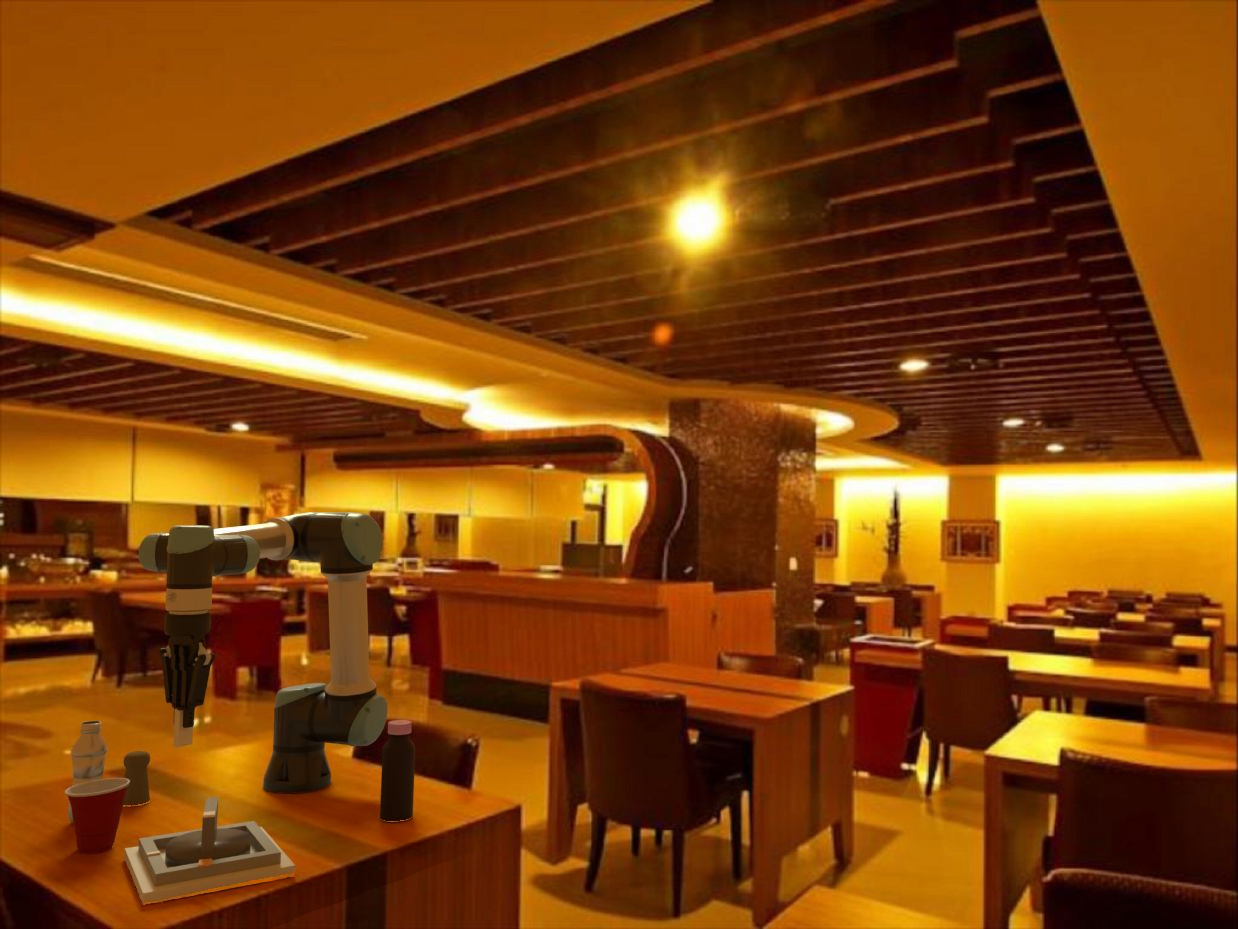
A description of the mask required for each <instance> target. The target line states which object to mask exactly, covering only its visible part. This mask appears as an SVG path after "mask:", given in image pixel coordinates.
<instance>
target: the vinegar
mask: <svg viewBox="0 0 1238 929" xmlns="http://www.w3.org/2000/svg"><path fill="white" fill-rule="evenodd" d="M412 724H413V723H412V721H411V720H408V719H407V720H406V719H395V720H390V721H389V722H387V736H388V740H387V741H386V742H385V743H384V744H383V746H382V753H381V754H382V756H381V778H380V779H381V780H380V803H379V804H380V806H379V808H380V809H379V818H380V819H379V820H381V819H382V820H385V821H400V820H406V819H409V818H411V817H412V818H413V815H414V814H413V813H414V790H415V769H416V768H415V766H416V765H415V764H416V763H415V762H416V761H415V760H416V745H415V743H414V742H413V741H412V740H411V738H410V737H411V735H412ZM412 818H411V819H412ZM382 820H381V821H382ZM385 821H384V822H385Z"/></svg>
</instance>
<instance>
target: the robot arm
mask: <svg viewBox="0 0 1238 929" xmlns="http://www.w3.org/2000/svg"><path fill="white" fill-rule="evenodd" d="M383 542H384V541H383V534H382V531H381V528H380V526H379V524H378V522H377V521H376V520H375V519H374V517H372V516H371V515H369V514H367V513H360V512H354V511H345V512H343V511H342V512H341V511H340V512H339V511H338V512H337V511H329V512H326V511H325V512H324V511H323V512H321V511H309V512H302V513H296V514H290V515H285V516H280V517H272V518H269V519H266V520H265V521H264V522H262V523H258V524H256V523H255V524H248V525H239V526H230V527H220V528H214V527H212V526H211V525H197V524H196V525H182V524H181V525H179V524H178V525H174V526H171V528H170V529H169V531H168V532H158V533H156V532H155V533H151V534H148V535H147V536H145V537H144V538H143V539H142V541H141V542H140V545H139V547H138V560H139V564H140V566H142V567H143V568H144V569H145V570H147V571H150V572H157V573H159V574H161V573H166V593H165V594H166V595H165V610H166V611H167V613H165V614H164V624H163V625H164V626H163V628H164V629H163V630H164V634H165V635H166V636H169V639H168V642H167V643H168V645H167V646H166V647H162V648H159V650H158V654H159V658H160V660H161V665H162V674H163V686H164V693H165V694H164V696H165V702H166V703H167V704H171V707H172V709H173V744H172V745H173V747H175V748H181V747H187V746H191V745H193V740H194V739H193V736H194V735H193V734H194V725H195V711H196V708H197V707H199V706H203V705H204V702H205V698H206V692H207V687H208V682H209V678H210V677H209V676H210V672H211V667H212V665H213V663H214V661H215V657H216V656H215V655H216V654H215V653H214V652H208V651H207V649H206V647H207V644H206V640H205V636H206V635H207V634H209V633H210V631H211V627H212V626H211V624H212V614H211V613H210V612H209V610H211V609H212V608H213V607H212V604H213V602H212V600H213V577H217V576H230V575H236V576H239V575H241V574H245V573H249V572H252V571H253V570H254V569H255V568H256V567H257V566H258V564H259V562H260V559H265V558H267V559H269V560H272V561H281V560H292V561H300V562H309V563H311V562H312V563H319V565H320V574H322V575H323V576H324V577H325V579H326V580H327V589H328V590H327V591H328V592H327V593H328V594H327V596H328V620H329V621H328V626H329V649H330V650H329V652H330V657H329V658H330V682H329V683H328V684H327V683H323V682H313V683H305V684H298V685H293V686H287V687H284V688H282V689H279V690H278V691H277V693H276V696H275V699H274V701H275V702H274V707H273V710H274V711H273V712H274V714H273V715H274V716H273V717H274V718H273V734H272V735H273V739H272V743H273V744H272V754H271V757H270V759H269V762H268V765H267V767H266V770H265V773H264V775H263V782H262V783H263V785H262V787H263V789H264V790H265V791H268V792H271V793H277V794H301V793H310V792H314V791H318V790H322V789H325V788H326V787H328V786H330V785H331V784H332V783H331V782H332V772H331V768H330V763H329V761H328V757H327V754H326V749H325V746H326V745H325V744H326V743H327V744H335V745H343V746H344V745H345V746H350V747H357V746H359V747H367V746H369V745H371V744H373V743H374V742H376V741H377V739H378V738H379V737H380V735H381V734H382V732H383V730H384V728H385V725H386V721H387V718H388V717H387V716H388V711H389V710H388V708H389V707H388V702H387V700H386V698H385V696H383V695H381V694H378V693H377V683H376V682H375V681H374V680H373V679H372V678H371V677H370V656H369V655H370V651H369V648H370V647H369V622H368V621H369V620H368V619H369V618H368V617H369V615H368V589H367V588H368V585H367V582H368V581H367V577H368V576H369V575H370V573H371V572H372V571H373V570H374V565H373V564H376V563H377V562H378V561H379V560H380V558H381V556H382V553H381V552H383V547H384V545H383V544H384V543H383Z"/></svg>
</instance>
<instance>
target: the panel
mask: <svg viewBox="0 0 1238 929" xmlns="http://www.w3.org/2000/svg"><path fill="white" fill-rule="evenodd" d="M221 828H223V829H237V830H242V831H245V832H247V833H249V834H250V836H251V848H250V853H249V854H245V855H240V856H234V857H228V858H222V859H216V860H212V859H201V860H199V863H193V864H187V865H182V866H176V867H171V866H169V865H168V864H166V862H165V853H166V844H167V843H168V842H169V841H170V840H172V839H173V838H175V837H178V836H180V835H183V834H186V833H190V832H194V831H200V830H202V828H199V829H192V830H187V831H179V832H173V833H166V834H161V835H153V836H148V837H147V836H146V837H142V838H141V837H140V838H139V839H138V845H137V846H133V847H132V846H131V847H125V848H124V857H123V860H124V859H125V861H126V863H127V865H128V868H129V870H130V873H131V875H132V878H133V880H134V883H135V886H136V888H137V890H138V893H139V895H140V898H141V900H142V902H143V903H146V902H153V901H161V900H164V899H168V898H172V897H177V896H181V895H187V894H192V893H195V892H201V891H205V890H208V889H213V888H218V887H223V886H230V885H233V884H238V883H244V882H248V881H251V880H258V879H264V878H269V877H276V876H280V875H285V874H292V873H295V874H296V864H295V863H294V862H293V861H292V860H291V859H290V858H289V856H288V855H287V854H286V853H285V852H284V850H282V848H281V847H280V846H279V845H278V844H277V843H276V842H275V840H274V839H273V838H272V837H271V836H270V835H269V833H268V832H267V831H266V830H265V829H264V828H263V826H259V825H258V824H257V822H256V821H255V820H251V821H245V822H244V821H243V822H238V823H231V824H226V825H225V824H224V825H217V829H221ZM125 861H124V862H125ZM126 863H125V864H126ZM128 868H127V869H128ZM130 873H129V874H130ZM132 878H131V879H132ZM134 883H133V884H134ZM135 886H134V887H135ZM136 888H135V889H136ZM138 893H137V894H138ZM140 898H139V899H140Z"/></svg>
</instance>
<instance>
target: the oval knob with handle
mask: <svg viewBox="0 0 1238 929" xmlns="http://www.w3.org/2000/svg"><path fill="white" fill-rule="evenodd" d="M218 812H219V797H207V798H206V800H205V805H204V810H203V813H202V814H203V815H202V821H201V822H202V823H201V824H202V825H201V826H202V827H201V829H202V830H200V831H194V832H190V833H186V834H183V835H180V836H178V837H175V838H173V839H172V840H170V841H169V842H168V843H167V844H166V853H165V862H166V864H168V865H169V866H171V867H176V866H182V865H187V864H193V863H199V860H201V859H212V860H216V859H222V858H228V857H234V856H240V855H245V854H249V853H250V848H251V836H250V834H249V833H247V832H245V831H242V830H237V829H223V828H221V829H217V826H218Z"/></svg>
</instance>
